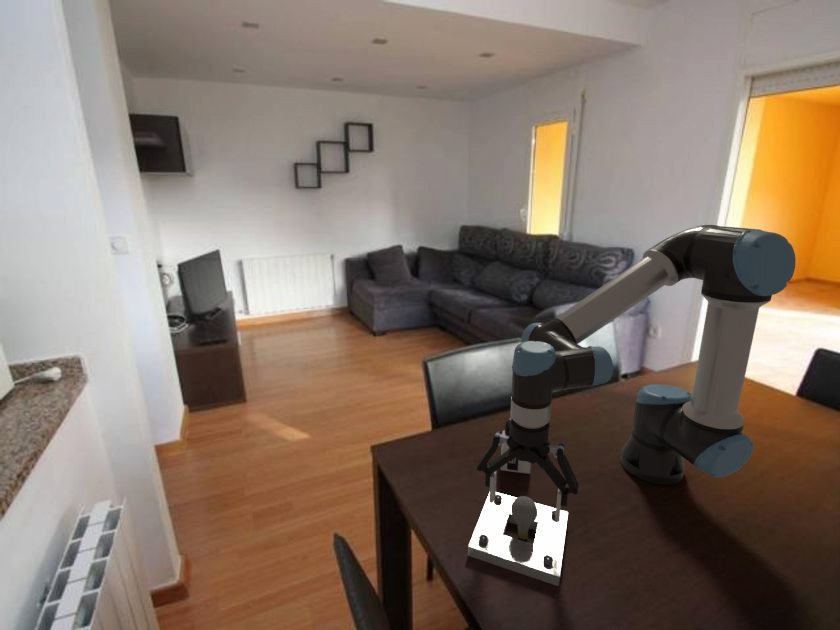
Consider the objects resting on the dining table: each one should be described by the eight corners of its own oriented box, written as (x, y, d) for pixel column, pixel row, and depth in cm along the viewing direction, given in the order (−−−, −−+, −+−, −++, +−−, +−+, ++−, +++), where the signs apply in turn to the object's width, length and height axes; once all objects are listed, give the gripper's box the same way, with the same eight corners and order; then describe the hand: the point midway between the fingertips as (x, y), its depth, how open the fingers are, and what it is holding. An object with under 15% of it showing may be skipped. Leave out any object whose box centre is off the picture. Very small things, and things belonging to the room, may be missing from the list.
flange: (567, 520, 97) (568, 509, 96) (558, 586, 81) (560, 573, 80) (489, 498, 104) (490, 487, 103) (467, 555, 88) (468, 543, 87)
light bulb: (506, 529, 95) (508, 491, 92) (530, 527, 95) (533, 489, 92) (514, 549, 89) (516, 510, 86) (539, 546, 90) (542, 507, 87)
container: (530, 474, 112) (533, 431, 108) (500, 470, 114) (503, 428, 110) (529, 456, 119) (532, 415, 116) (501, 453, 121) (503, 413, 117)
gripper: (598, 421, 82) (588, 511, 89) (473, 399, 92) (472, 481, 98) (597, 443, 76) (586, 538, 82) (463, 416, 85) (462, 503, 92)
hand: (524, 507), depth 90 cm, fingers open, 13 cm apart
